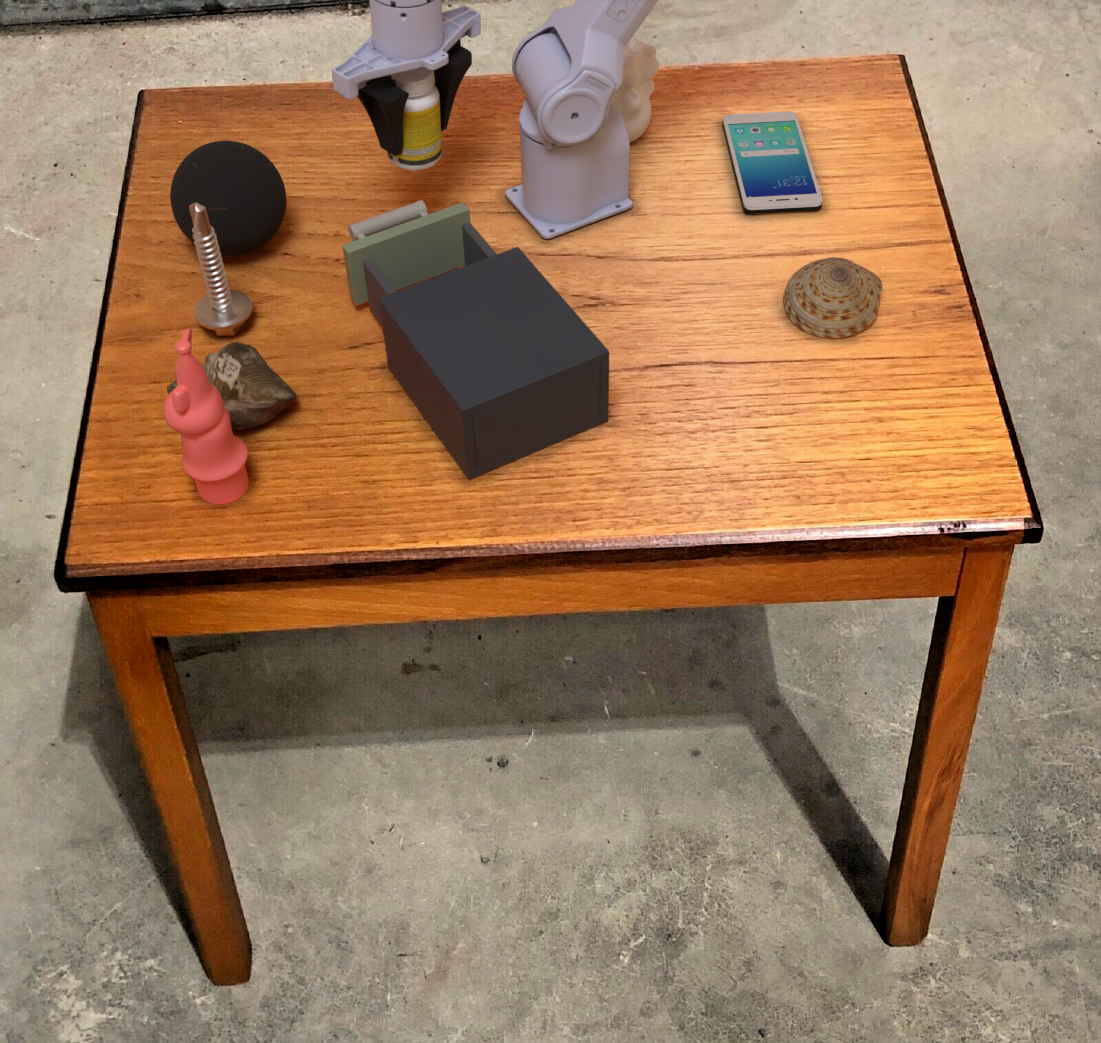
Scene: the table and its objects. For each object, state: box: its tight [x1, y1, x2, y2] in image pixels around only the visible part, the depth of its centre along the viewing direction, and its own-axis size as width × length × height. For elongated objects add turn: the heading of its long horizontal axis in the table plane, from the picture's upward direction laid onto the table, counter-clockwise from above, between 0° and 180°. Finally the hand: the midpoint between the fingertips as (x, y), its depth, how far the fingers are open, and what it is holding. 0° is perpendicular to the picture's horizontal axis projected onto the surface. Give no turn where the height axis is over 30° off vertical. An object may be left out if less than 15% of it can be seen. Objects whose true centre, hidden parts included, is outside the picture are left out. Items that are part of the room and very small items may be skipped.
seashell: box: [782, 256, 883, 339], centre depth 122 cm, size 8×6×8 cm
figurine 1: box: [163, 328, 250, 505], centre depth 105 cm, size 5×5×15 cm
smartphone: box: [721, 110, 823, 215], centre depth 136 cm, size 8×1×15 cm
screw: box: [189, 202, 253, 337], centre depth 118 cm, size 13×5×5 cm
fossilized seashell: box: [166, 341, 298, 431], centre depth 115 cm, size 8×7×10 cm
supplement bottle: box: [386, 67, 443, 172], centre depth 122 cm, size 5×5×8 cm
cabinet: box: [379, 246, 610, 481], centre depth 114 cm, size 15×13×8 cm
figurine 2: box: [610, 35, 660, 143], centre depth 135 cm, size 7×7×12 cm
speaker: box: [169, 140, 287, 258], centre depth 126 cm, size 10×10×10 cm
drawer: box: [342, 199, 498, 326], centre depth 121 cm, size 18×11×6 cm, turn 29°
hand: (413, 137), depth 123 cm, fingers closed on supplement bottle, 5 cm apart
